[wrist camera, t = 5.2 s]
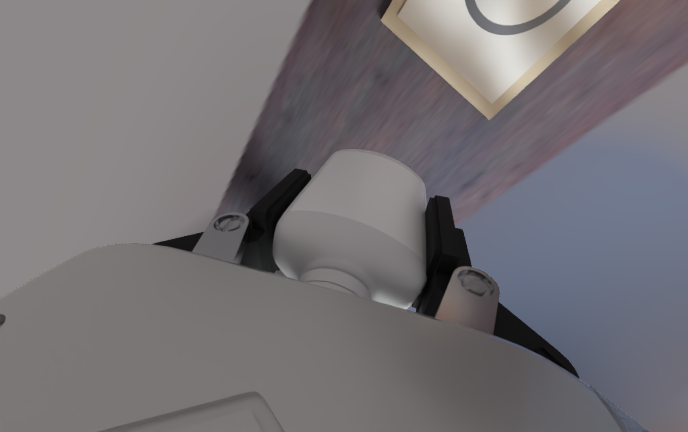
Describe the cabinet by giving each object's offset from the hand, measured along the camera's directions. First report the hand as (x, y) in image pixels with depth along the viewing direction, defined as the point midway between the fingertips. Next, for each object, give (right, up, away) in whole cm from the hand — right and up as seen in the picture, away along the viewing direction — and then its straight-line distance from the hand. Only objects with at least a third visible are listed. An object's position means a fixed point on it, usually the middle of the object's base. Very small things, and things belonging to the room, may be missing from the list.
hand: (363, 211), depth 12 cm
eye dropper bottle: (+1, +2, +3) cm, 4 cm away
